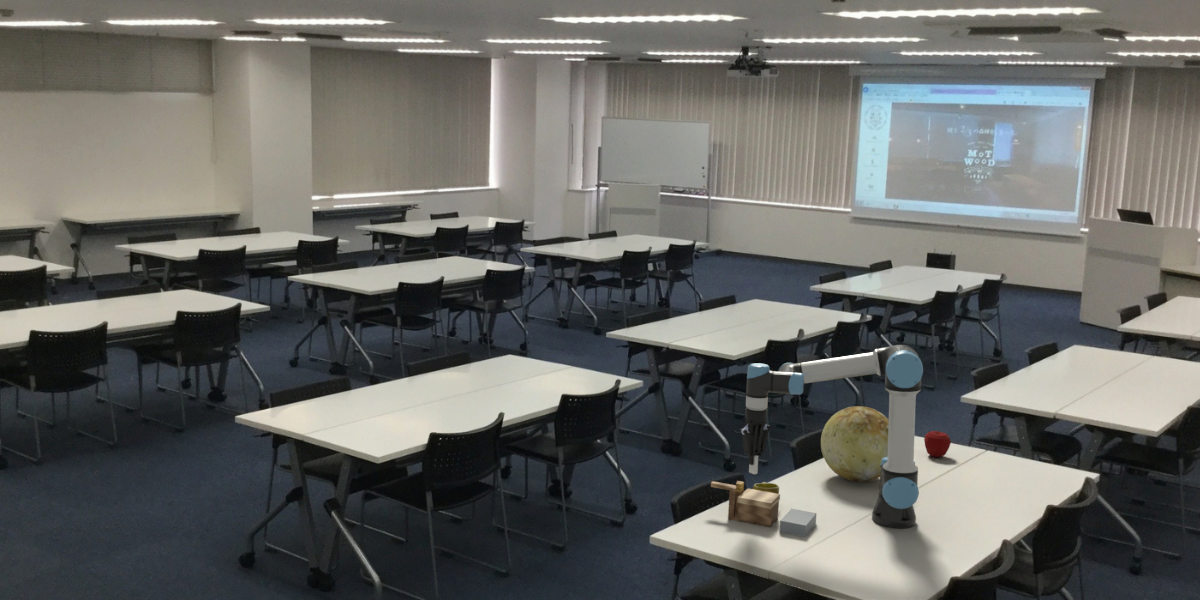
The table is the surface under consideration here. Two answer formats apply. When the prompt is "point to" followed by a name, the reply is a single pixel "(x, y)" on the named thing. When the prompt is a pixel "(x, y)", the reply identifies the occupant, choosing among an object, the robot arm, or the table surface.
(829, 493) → the table surface
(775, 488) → the mug
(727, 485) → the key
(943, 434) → the apple
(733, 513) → the toolbox
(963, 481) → the table surface
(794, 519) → the block
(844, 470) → the speckled ball
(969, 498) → the table surface
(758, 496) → the lid
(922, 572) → the table surface
